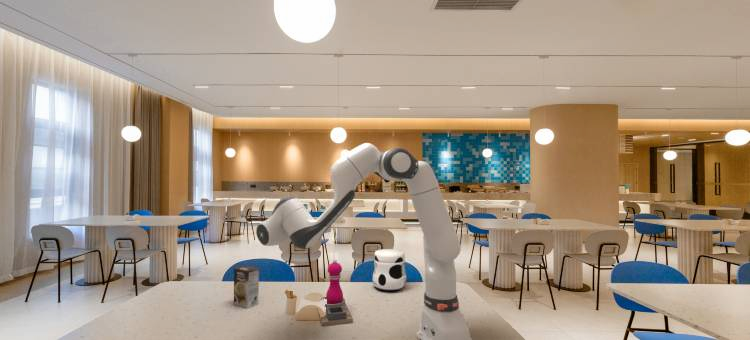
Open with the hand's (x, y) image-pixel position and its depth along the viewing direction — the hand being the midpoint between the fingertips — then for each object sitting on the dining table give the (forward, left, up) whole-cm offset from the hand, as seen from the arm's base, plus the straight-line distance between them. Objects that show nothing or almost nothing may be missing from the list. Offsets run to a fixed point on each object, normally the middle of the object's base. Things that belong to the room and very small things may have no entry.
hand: (319, 223), depth 134 cm
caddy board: (+2, -6, -38) cm, 39 cm away
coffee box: (+22, +30, -38) cm, 53 cm away
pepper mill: (+6, -7, -37) cm, 38 cm away
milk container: (+27, -39, -38) cm, 61 cm away
